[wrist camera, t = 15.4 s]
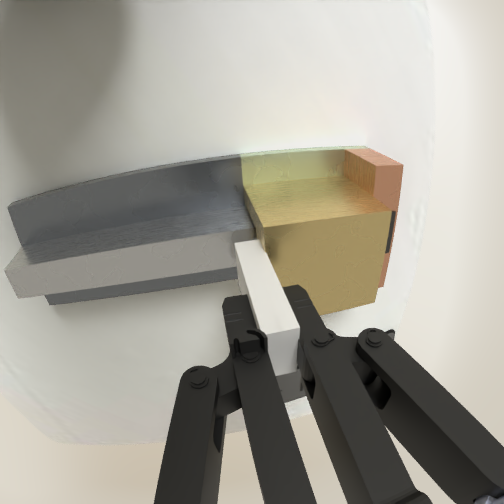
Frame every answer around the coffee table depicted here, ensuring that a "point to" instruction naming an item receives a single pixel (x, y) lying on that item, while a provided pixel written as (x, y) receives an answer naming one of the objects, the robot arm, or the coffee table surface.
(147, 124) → the coffee table surface
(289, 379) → the smartphone
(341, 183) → the clip
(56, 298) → the rail
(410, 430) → the robot arm
